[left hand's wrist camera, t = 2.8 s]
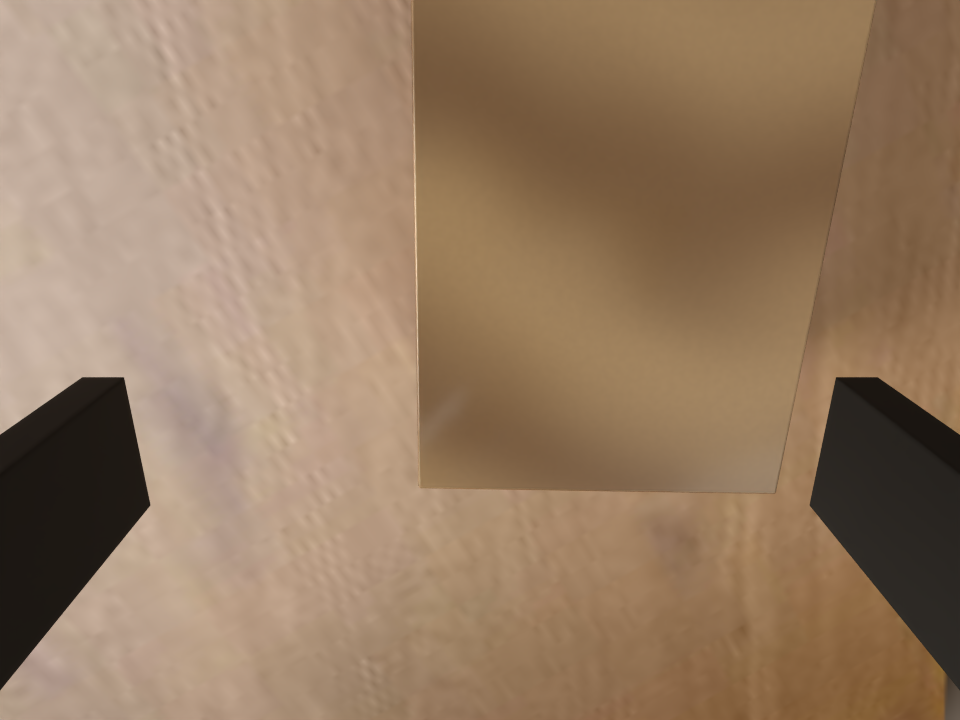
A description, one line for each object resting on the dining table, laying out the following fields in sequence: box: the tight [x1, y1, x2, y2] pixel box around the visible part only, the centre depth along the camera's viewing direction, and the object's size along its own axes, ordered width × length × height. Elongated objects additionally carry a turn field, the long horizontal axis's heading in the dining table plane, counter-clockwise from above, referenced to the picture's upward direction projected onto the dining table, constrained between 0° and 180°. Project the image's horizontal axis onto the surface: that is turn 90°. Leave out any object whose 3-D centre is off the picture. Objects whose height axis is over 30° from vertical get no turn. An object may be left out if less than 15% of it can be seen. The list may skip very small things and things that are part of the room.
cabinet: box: [411, 0, 877, 494], centre depth 22 cm, size 22×11×10 cm, turn 179°
